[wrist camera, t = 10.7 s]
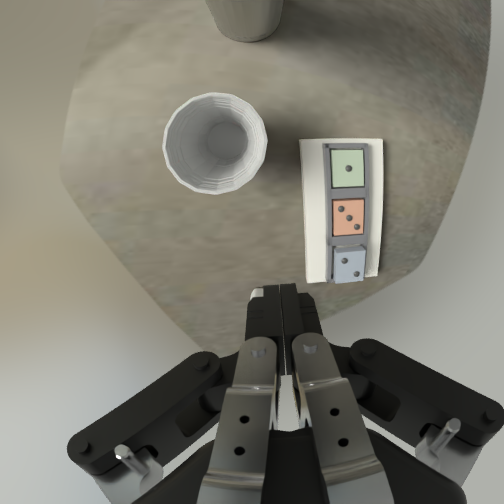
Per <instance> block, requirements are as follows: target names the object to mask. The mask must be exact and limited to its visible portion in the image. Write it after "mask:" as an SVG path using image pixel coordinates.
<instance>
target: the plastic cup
mask: <svg viewBox="0 0 504 504" xmlns="http://www.w3.org/2000/svg"><path fill="white" fill-rule="evenodd" d="M267 141H268V140H267V135H266V131H265V127H264V123H263V120H262V119H261V117H260V116H259V115H258V113H257V112H256V111H255V110H254V108H253V107H252V106H251V104H249V103H247V102H245V101H244V100H242V99H240V98H238V97H236V96H234V95H233V94H225V93H215V92H211V93H207V94H203V95H200V96H197V97H193V98H191V99H190V100H188V101H187V102H186V103H184V104H183V105H182V106H181V107H179V108H178V109H177V110H175V112H174V114H173V115H172V117H171V119H170V120H169V122H168V124H167V126H166V127H165V132H164V139H163V146H162V149H163V153H164V156H165V160H166V164H167V167H168V168H169V170H170V171H171V172H172V174H173V175H174V176H175V178H176V179H177V180H178V181H179V182H180V183H181V184H183V185H185V186H187V187H188V188H190V189H192V190H194V191H195V192H200V193H207V194H214V195H217V194H221V193H225V192H229V191H233V190H237V189H238V188H239V187H241V186H242V185H244V184H245V183H246V182H248V181H249V180H251V179H252V178H253V177H254V175H255V174H256V172H257V171H258V169H259V168H260V166H261V165H262V163H263V161H264V158H265V153H266V147H267Z"/></svg>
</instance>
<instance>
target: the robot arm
mask: <svg viewBox="0 0 504 504" xmlns="http://www.w3.org/2000/svg"><path fill="white" fill-rule="evenodd" d="M205 1H206V3H207V5H208V7H209V9H210V11H211V13H212V16H213V18H214V20H215V22H216V24H217V27H218V28H219V30H220V31H221V32H222V33H223V34H224V35H225V36H227V37H229V38H230V39H233V40H236V41H241V42H253V41H259V40H261V39H264V38H266V37H268V36H270V35H271V34H272V33H273V32H274V31H275V30H276V29H277V27H278V25H279V23H280V18H281V13H282V8H283V2H284V0H205ZM280 294H281V305H280ZM280 294H279V285H268V286H263V296H262V297H253V298H252V299H251V300H250V302H249V303H248V307H247V320H246V333H245V342H244V343H243V344H242V345H241V347H240V350H239V351H238V352H236V353H235V354H233V355H230V356H227V357H223V358H219V357H218V356H217V355H216V354H214V353H212V352H207V351H203V352H198V353H195V354H192V355H191V356H189V357H188V358H187V359H185V360H184V361H182V362H181V363H180V364H178V365H177V366H176V367H174V368H173V369H171V370H170V371H169V372H167V373H166V374H164V375H163V376H162V377H160V378H159V379H157V380H156V381H155V382H153V383H152V384H150V385H149V386H147V387H146V388H145V389H143V390H142V391H140V392H139V393H137V394H136V395H135V396H133V397H132V398H130V399H129V400H127V401H126V402H124V403H123V404H121V405H120V406H118V407H117V408H115V409H114V410H113V411H111V412H109V413H108V414H106V415H105V416H103V417H102V418H100V419H98V420H97V421H95V422H94V423H92V424H91V425H89V426H88V427H86V428H85V429H83V430H81V431H80V432H78V433H77V434H75V435H74V436H73V437H72V438H71V439H70V440H69V442H68V445H67V453H68V456H69V457H70V459H71V460H72V461H73V462H74V463H76V464H77V465H78V466H80V467H81V468H82V469H83V470H84V471H85V472H86V473H88V474H89V475H91V476H92V477H93V478H94V480H95V481H96V483H97V484H98V486H99V487H100V489H101V490H102V492H103V493H104V494H105V496H106V497H107V498H108V500H109V501H110V502H111V504H467V500H466V496H465V494H464V491H463V490H462V488H461V486H462V485H463V483H464V481H465V480H466V478H467V476H468V474H469V473H470V471H471V469H472V467H473V465H474V464H475V461H476V460H477V458H478V456H479V454H480V452H481V450H482V448H483V446H484V445H485V444H486V443H487V442H488V441H489V440H490V439H491V438H492V437H493V436H494V435H495V434H496V433H497V432H498V431H499V430H500V429H501V428H502V426H503V425H504V409H503V407H502V406H501V405H500V404H499V403H498V402H496V401H494V400H492V399H490V398H488V397H486V396H484V395H482V394H480V393H478V392H476V391H474V390H472V389H470V388H468V387H466V386H464V385H462V384H460V383H458V382H456V381H454V380H452V379H450V378H448V377H446V376H444V375H442V374H440V373H438V372H436V371H434V370H432V369H431V368H428V367H427V366H425V365H423V364H421V363H419V362H417V361H415V360H413V359H411V358H409V357H407V356H405V355H404V354H402V353H400V352H398V351H396V350H394V349H392V348H390V347H388V346H386V345H384V344H383V343H381V342H379V341H377V340H374V339H360V340H358V341H356V342H355V343H353V345H352V346H351V348H349V347H341V346H336V345H333V344H331V343H329V342H328V340H327V339H326V338H325V337H324V336H323V333H322V329H321V325H320V321H319V317H318V313H317V310H316V307H315V302H314V298H312V297H311V296H310V295H309V294H308V293H298V294H297V289H296V284H295V283H291V284H280ZM281 309H282V316H281ZM282 323H283V327H282ZM283 335H284V341H283ZM284 345H285V359H286V371H287V375H292V380H293V394H294V400H295V405H296V411H297V416H298V422H299V429H298V430H295V431H290V432H288V431H280V430H278V415H279V398H280V386H281V376H282V375H285V361H284ZM361 414H362V415H364V416H365V417H367V418H368V419H370V420H371V421H373V422H374V423H376V424H377V425H379V426H380V427H382V428H384V429H385V430H387V431H388V432H390V433H391V434H393V435H395V436H396V437H398V438H400V439H401V440H403V441H404V442H406V443H408V444H409V445H411V446H413V447H415V448H416V449H415V455H416V458H415V457H414V456H412V455H411V454H409V453H407V452H406V451H404V450H403V449H401V448H400V447H399V446H397V445H396V444H394V443H393V442H391V441H390V440H388V439H387V438H385V437H384V436H382V435H381V434H379V433H377V432H376V431H374V430H371V429H368V428H366V427H365V424H364V421H363V418H362V415H361ZM218 422H219V424H218V429H217V433H216V437H215V439H214V440H212V441H210V442H208V443H206V444H205V445H203V446H202V447H201V448H199V449H198V450H197V451H196V452H195V453H194V454H192V455H191V456H190V457H189V458H188V459H187V460H186V461H184V462H183V463H182V464H181V465H180V466H178V467H177V468H176V469H175V470H174V471H173V472H171V473H170V474H169V475H168V476H166V477H165V478H164V479H163V480H162V478H163V467H164V466H165V465H166V464H168V463H169V462H170V461H171V460H173V459H174V458H175V457H177V456H178V455H179V454H180V453H182V452H183V451H184V450H185V449H187V448H188V447H189V446H190V445H191V444H193V443H194V442H195V441H197V440H198V439H199V438H200V437H201V436H202V435H204V434H205V433H206V432H207V431H208V430H210V429H211V428H212V427H213V426H214V425H215V424H216V423H218Z"/></svg>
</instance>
